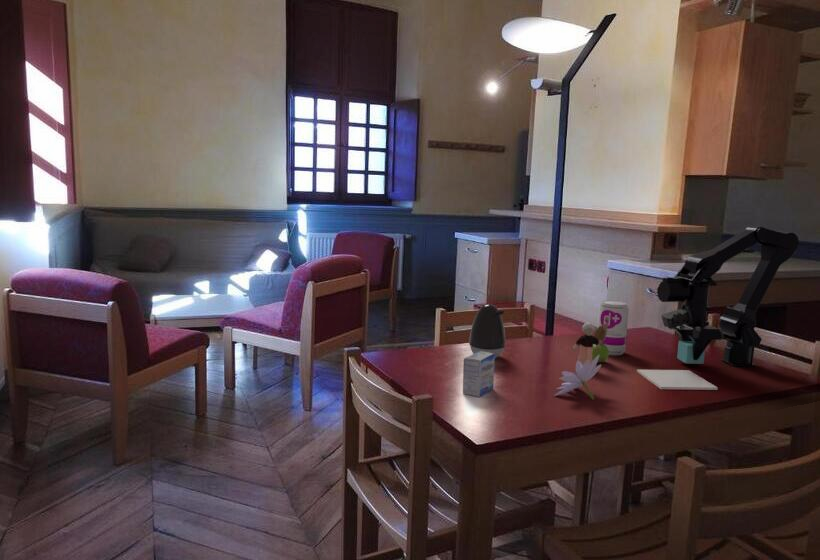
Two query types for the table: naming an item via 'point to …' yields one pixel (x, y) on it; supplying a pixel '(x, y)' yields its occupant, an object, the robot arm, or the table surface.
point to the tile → (676, 379)
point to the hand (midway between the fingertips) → (690, 357)
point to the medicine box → (478, 373)
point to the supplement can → (614, 325)
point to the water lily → (579, 376)
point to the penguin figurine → (488, 331)
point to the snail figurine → (600, 335)
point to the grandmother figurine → (586, 343)
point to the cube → (688, 353)
